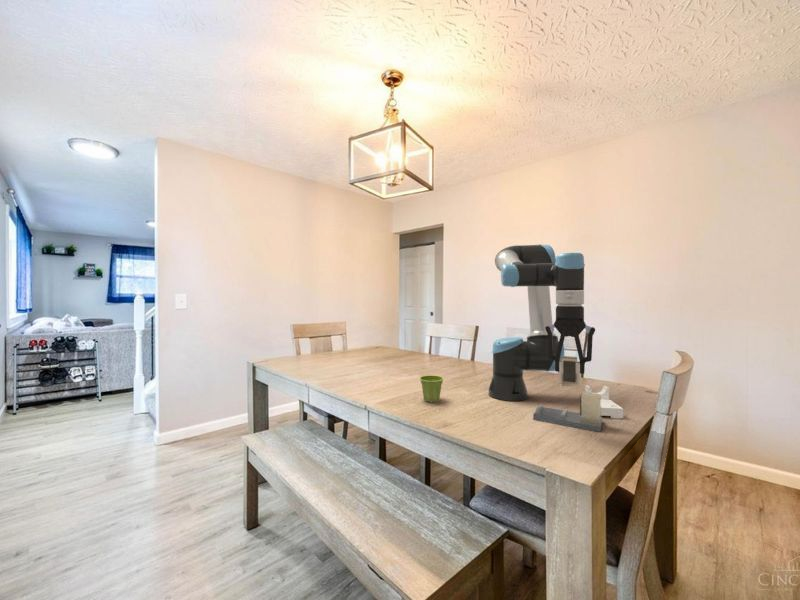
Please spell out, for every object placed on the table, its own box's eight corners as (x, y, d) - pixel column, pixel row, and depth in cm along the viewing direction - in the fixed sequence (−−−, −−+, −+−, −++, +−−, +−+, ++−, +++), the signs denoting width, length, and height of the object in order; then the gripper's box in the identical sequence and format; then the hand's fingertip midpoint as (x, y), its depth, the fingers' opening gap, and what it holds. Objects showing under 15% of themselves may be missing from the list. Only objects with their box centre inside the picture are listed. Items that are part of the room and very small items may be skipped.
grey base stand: (533, 419, 111) (533, 390, 111) (540, 410, 119) (540, 383, 119) (600, 432, 100) (600, 400, 100) (602, 421, 109) (602, 392, 109)
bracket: (585, 405, 125) (585, 385, 125) (605, 406, 124) (605, 386, 124) (599, 418, 113) (599, 395, 113) (623, 419, 111) (623, 396, 111)
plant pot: (448, 401, 131) (448, 379, 131) (427, 405, 126) (427, 382, 126) (435, 395, 139) (435, 374, 139) (415, 398, 135) (415, 376, 135)
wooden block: (577, 387, 98) (577, 360, 98) (561, 386, 100) (561, 359, 100) (577, 383, 103) (577, 356, 103) (562, 381, 105) (562, 355, 104)
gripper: (537, 305, 101) (537, 383, 102) (603, 306, 94) (603, 390, 94) (539, 304, 108) (539, 377, 109) (602, 305, 100) (601, 383, 101)
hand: (569, 383), depth 101 cm, fingers closed on wooden block, 4 cm apart
